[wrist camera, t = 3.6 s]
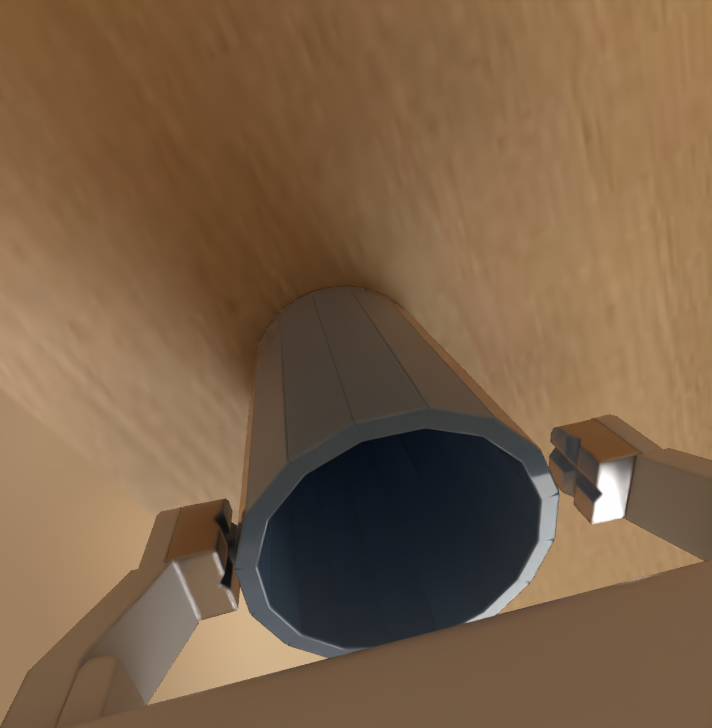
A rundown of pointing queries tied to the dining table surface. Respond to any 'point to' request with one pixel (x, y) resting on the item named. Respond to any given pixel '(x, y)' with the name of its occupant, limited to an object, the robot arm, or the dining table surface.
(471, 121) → the dining table surface
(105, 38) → the dining table surface
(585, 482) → the robot arm
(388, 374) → the cup
